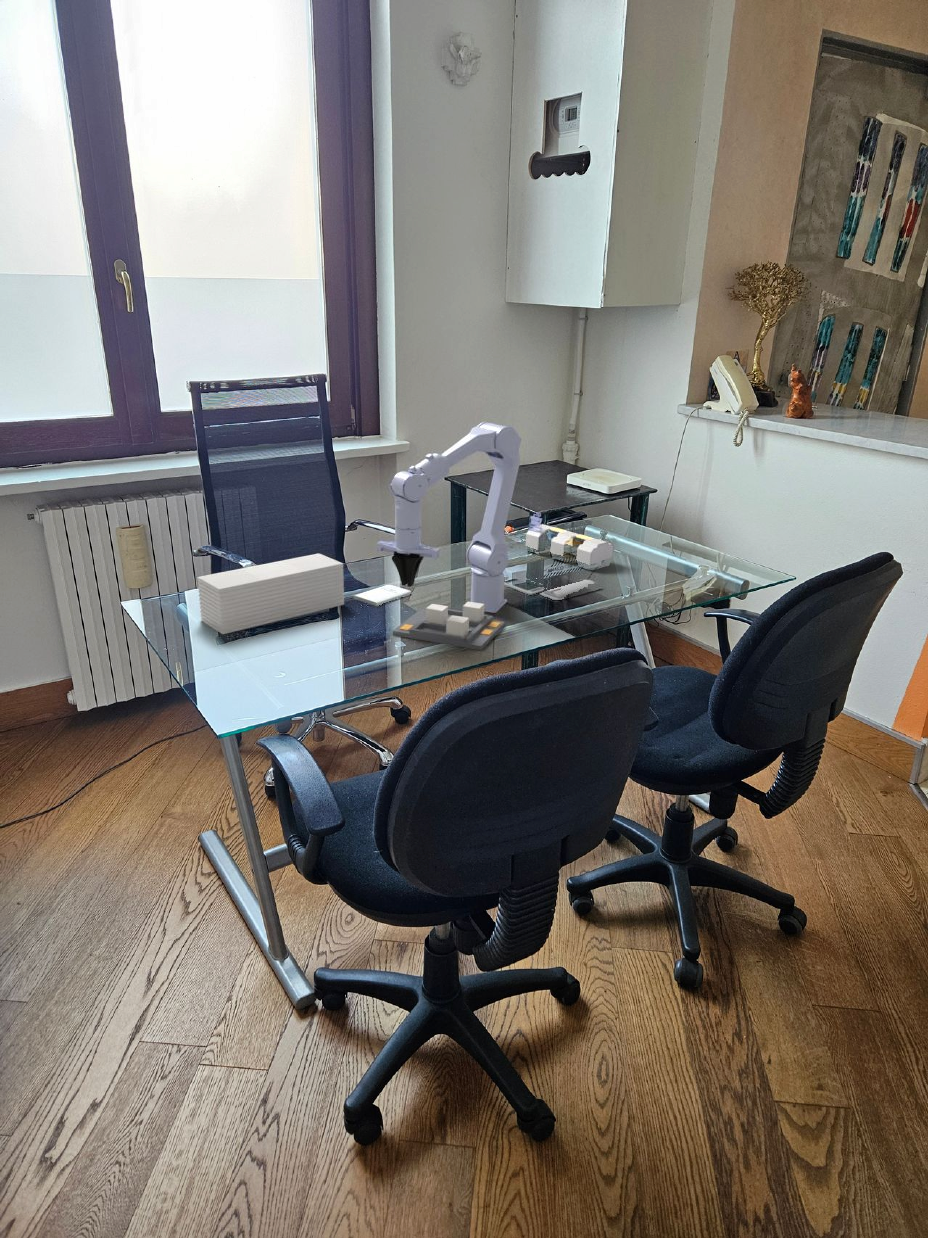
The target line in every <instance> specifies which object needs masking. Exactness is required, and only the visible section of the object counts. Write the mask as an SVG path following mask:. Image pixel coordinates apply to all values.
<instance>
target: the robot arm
mask: <svg viewBox="0 0 928 1238" xmlns="http://www.w3.org/2000/svg"><path fill="white" fill-rule="evenodd" d="M521 442H522V438H521V436H520V435H519V433H518V432H517V430H516V429H515V428H514V427H512V426H509V425H508V426H506V425H501V424H496V423H493V422H489V421H482V422H481V423H479V424H478V425H476V426H474V427H472V428H471V430H470V432H469V433H468V434H467V435H465V436H464V437H462V438H461V439H460V440H459V441H457V442H456V443H455V444H453V445H452V446H451V447H449V448H448V449H447V450H445V451H444V452H443V453H441V454H439V453H437V452H436V453H427V454H426V455H425V456H424V457H425V459H423V460H421V461H420V462H419V463H417V464H415V465H411V466H410V467H408V470H407V471H406V470H405V471H400V472H397V473H396V474H395V475H394V477H393V478H392V480H391V483H390V484H389V490H390V492H391V494H392V495H393V497H394V499H393V500H394V519H395V520H394V541H384V540H380V541H378V542H377V543H376V551H377V552H380V553H381V552H387V553H393V555H392V556H391V561H392V563H393V564H394V566H395V568H396V569H397V573H398V575H399V579H400V583H401V586H407V587H410V588H411V587H412V586H414V584H415V579H416V576H417V573H418V570H419V567H420V565H421V564H422V562H423V560H424V558H431V559H432V560H437V559H438V558H440V548H437V547H433V546H428V545H424V544H422V541H421V540H422V500H423V499H424V498H425V496H426V494H427V491H428V490H429V489H430V488H431V487H432V486H435V485H436V484H437V483H439V482H440V481H441V480H443V479H444V478H446V477H448V476H449V474H450V468H451V467H453V466H455V465H457V464H458V463H461V462H462V461H463V460H466V459H467V458H468V457H471V456H472V455H474V454H476V453H477V452H481V453H485V454H486V455H488V457H489V459H490V460H491V461H492V463H493V465H494V471H493V475H492V479H491V483H490V488H489V492H488V497H487V501H486V506H485V510H484V515H483V519H482V523H481V528H480V530H479V531H478V532H476V533H475V534H474V535H473V537H472V540H471V543H470V544H469V546H467V547H468V548H467V550H466V553H465V557H466V559H465V560H466V561H467V563H468V565H470V570H471V581H470V583H471V585H470V602H475V603H481V604H484V613H492V614H496V613H497V612H498V611H500V609H501V608H502V607H503V606H505V604H506V603H508V600H507V599H504V597H505V587H504V576H505V574H504V571H506V569H507V567H508V566H509V565H508V564H509V555H508V553H509V552H508V551H509V544H508V542H507V540H506V538H505V535H504V534H505V529H506V525H507V521H508V515H509V511H510V507H511V504H512V498H513V494H514V490H515V486H516V481H517V477H518V474H519V473H518V472H519V468H520V465H521V464H520V462H521V459H520V446H521Z"/></svg>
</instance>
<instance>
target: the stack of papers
mask: <svg viewBox="0 0 928 1238" xmlns="http://www.w3.org/2000/svg"><path fill="white" fill-rule="evenodd" d="M196 578H197V579H196V580H197V587H198V597H199V605H200V606H199V607H200V608H199V609H200V620H201V622H203V623H204V624H206V625H208V626H210V628H211V629H214V630H215V631H217V632H219V633H220V634H222V635H225V634H229V633H234V632H237V631H242V630H245V629H249V628H254V627H258V626H263V625H267V624H270V623H275V622H278V621H279V622H280V621H283V620H286V619H291V618H295V617H300V616H303V615H307V614H311V613H316V612H320V611H323V610H327V609H332V608H335V607H340V606H344V605H345V591H344V590H345V588H344V586H345V583H344V581H345V579H344V563H343V562H340V561H338V560H336V559H333V558H331V557H328V556H326V555H324V554H322V553H315V554H314V553H313V554H309V555H303V556H298V557H292V558H289V559H284V560H279V561H273V562H268V563H264V564H257V565H253V566H248V567H241V568H238V569H233V570H226V571H222V572H217V573H212V574H206V575H201V576H198V577H196Z"/></svg>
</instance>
